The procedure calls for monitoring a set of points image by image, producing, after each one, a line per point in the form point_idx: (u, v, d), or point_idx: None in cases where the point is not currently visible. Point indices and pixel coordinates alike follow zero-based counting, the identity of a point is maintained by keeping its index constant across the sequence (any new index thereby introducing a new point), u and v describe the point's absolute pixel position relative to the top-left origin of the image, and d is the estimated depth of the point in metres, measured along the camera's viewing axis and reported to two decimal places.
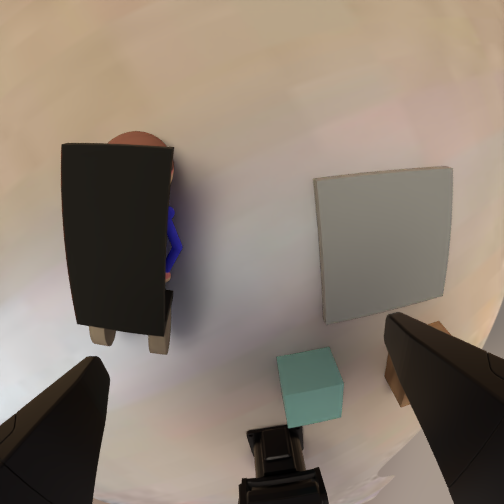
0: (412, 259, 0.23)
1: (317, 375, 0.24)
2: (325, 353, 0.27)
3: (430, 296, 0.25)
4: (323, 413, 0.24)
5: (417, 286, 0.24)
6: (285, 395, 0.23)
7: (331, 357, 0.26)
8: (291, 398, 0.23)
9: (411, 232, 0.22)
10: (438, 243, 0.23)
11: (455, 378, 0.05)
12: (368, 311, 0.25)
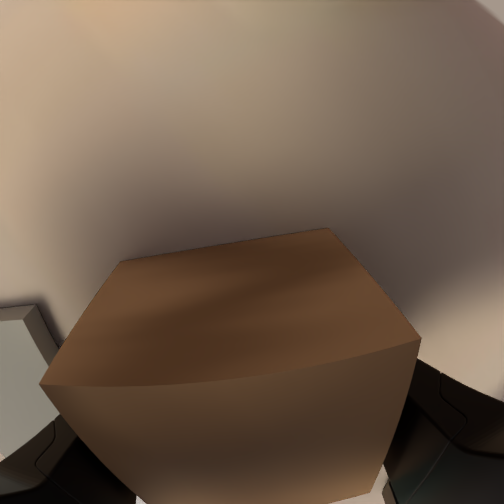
0: (4, 396, 0.09)
1: None
2: None
3: (36, 356, 0.08)
4: None
5: (32, 388, 0.09)
6: None
7: None
8: None
9: None
10: None
11: None
12: None
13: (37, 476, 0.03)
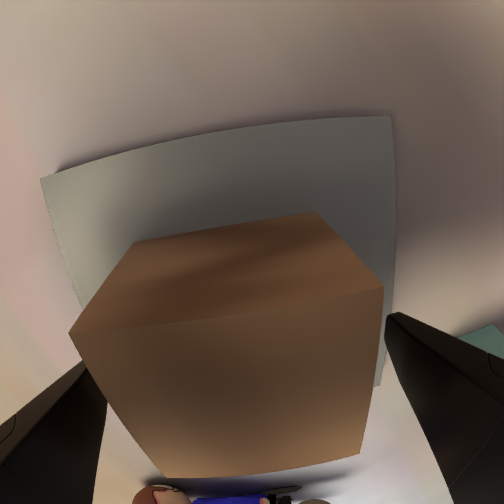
0: None
1: None
2: None
3: (386, 163, 0.09)
4: None
5: (349, 218, 0.10)
6: None
7: None
8: None
9: None
10: (225, 173, 0.09)
11: (455, 378, 0.05)
12: None
13: None
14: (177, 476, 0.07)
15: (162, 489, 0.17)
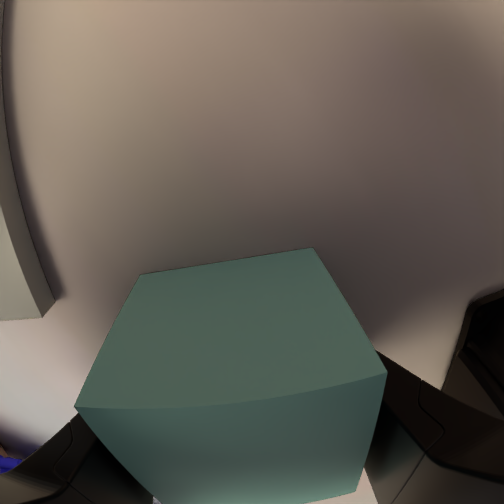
0: None
1: None
2: None
3: None
4: (306, 449, 0.05)
5: None
6: None
7: None
8: None
9: None
10: None
11: None
12: None
13: (55, 482, 0.03)
14: None
15: None
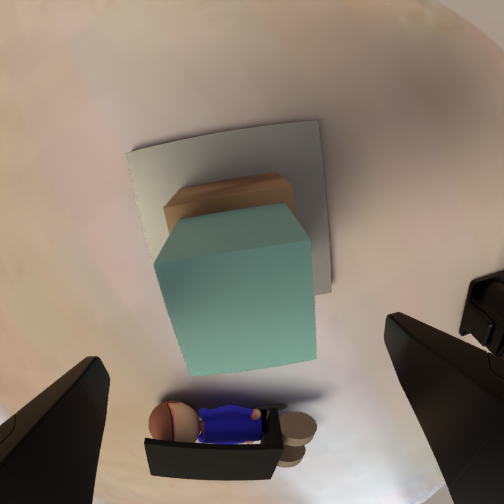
0: None
1: None
2: None
3: (315, 145, 0.18)
4: (275, 294, 0.10)
5: (295, 175, 0.19)
6: (191, 373, 0.11)
7: None
8: (199, 364, 0.11)
9: None
10: (230, 152, 0.18)
11: (455, 378, 0.05)
12: (323, 244, 0.20)
13: None
14: None
15: (175, 402, 0.26)
